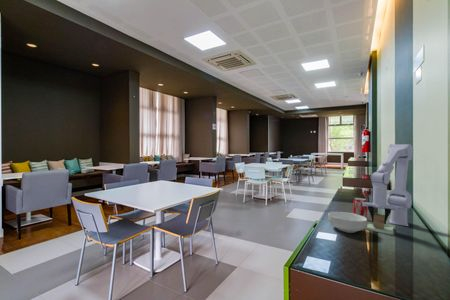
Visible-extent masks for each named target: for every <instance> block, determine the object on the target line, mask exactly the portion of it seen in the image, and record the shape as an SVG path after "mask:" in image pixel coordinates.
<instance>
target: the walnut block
mask: <svg viewBox="0 0 450 300" xmlns="http://www.w3.org/2000/svg"><path fill="white" fill-rule="evenodd" d="M384 218H385V214H383V213H375V212H374V218H373V227H377V228H382V229H384Z"/></svg>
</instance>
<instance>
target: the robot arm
mask: <svg viewBox="0 0 450 300" xmlns="http://www.w3.org/2000/svg"><path fill="white" fill-rule="evenodd" d="M387 153H388V154H387V156H386V159H385V161H383V162H381V163H380V165H379V167H378V168H377V169H376V171H375V172H372V174H371V176H370V180H371V186H372V202H368V201H367V202H363V203H362V206H367V211H368V212H369V215H370V217H371V222H373V218H374V213H375V212H374V210H375V209H381V210H384V216H385V218H384V224H385V225H387V220H389V224H392V225H398V226H399V225H400V226H404V227H405V226H406V227H409V223H408V209H410V208H411V207H412V205H413V200H412V194H411V193H409V191H407V190H406V189H407V181H408V169H409V164H410V163H409V161H412V160H413V156H414V147H413V145H412V144H410V143H407V144H405V143H404V144H401V143H400V144H392V143H391V144H389V145H388V147H387ZM395 163H397V164H396V171H395V180H394V189H391V190H389V191H387V190H388V189H387V188H388V184H389V183H390V181H391V180H390V179H391V174H392V172H393V170H394V169H395V167H394V164H395ZM387 194H388V195H387ZM389 216H390V218H389ZM388 218H389V219H388Z"/></svg>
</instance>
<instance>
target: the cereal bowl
mask: <svg viewBox="0 0 450 300" xmlns="http://www.w3.org/2000/svg"><path fill="white" fill-rule="evenodd" d="M327 219H328V222H329V223H330V225H331V226H332V227H334V228H336V229H338V230H339V231H341V232H343V233H344V232H345V233H350V234H354V233H356V232H359V231H362V230H365V229H364V228H365V227H366V225H367V221H368V218H367V219H366V218H365V217H363V216H361V215H357V214H353V212H345V211H330V212H328V213H327Z"/></svg>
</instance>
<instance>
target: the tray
mask: <svg viewBox="0 0 450 300" xmlns="http://www.w3.org/2000/svg"><path fill="white" fill-rule="evenodd" d="M363 230H366V231H371V232H376V233H381V234H385V235H391V236H394V235H395V231H394V226H393V225H390V224H384V229H382V228H377V227H373V222H372V221H368V220H367V225H366V227H365V228H364V229H363Z"/></svg>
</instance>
